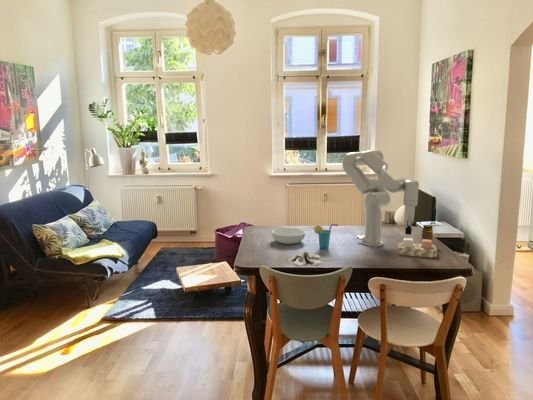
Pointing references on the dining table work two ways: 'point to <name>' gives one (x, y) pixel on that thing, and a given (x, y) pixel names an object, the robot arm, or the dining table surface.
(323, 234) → the cup
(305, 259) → the cloth
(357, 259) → the dining table surface
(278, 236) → the serving bowl
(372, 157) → the robot arm
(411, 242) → the ivory key
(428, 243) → the terracotta key
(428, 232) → the condiment
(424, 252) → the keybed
